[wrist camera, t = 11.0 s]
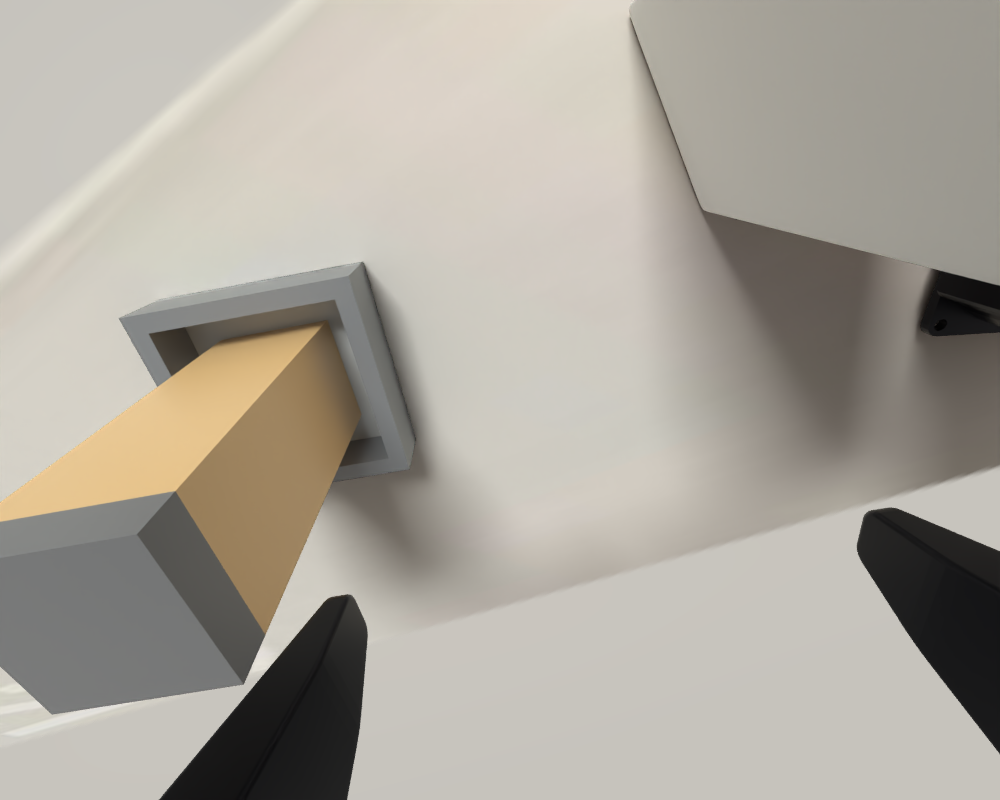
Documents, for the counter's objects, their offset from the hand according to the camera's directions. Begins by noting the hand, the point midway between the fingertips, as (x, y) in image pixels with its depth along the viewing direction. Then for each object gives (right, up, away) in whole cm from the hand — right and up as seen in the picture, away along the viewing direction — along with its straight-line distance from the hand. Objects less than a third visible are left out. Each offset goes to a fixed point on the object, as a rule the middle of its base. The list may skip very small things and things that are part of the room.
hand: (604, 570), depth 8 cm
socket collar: (-11, +4, +12) cm, 16 cm away
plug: (-11, +4, +12) cm, 16 cm away
